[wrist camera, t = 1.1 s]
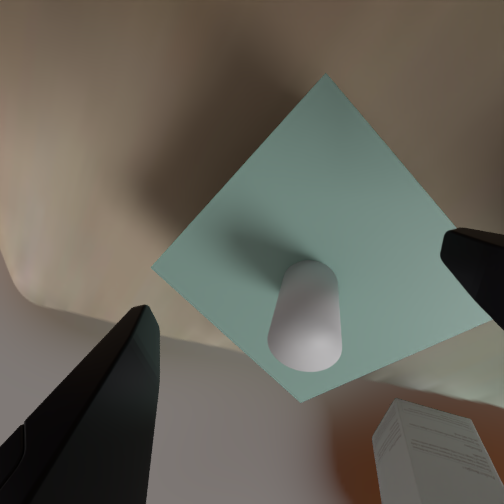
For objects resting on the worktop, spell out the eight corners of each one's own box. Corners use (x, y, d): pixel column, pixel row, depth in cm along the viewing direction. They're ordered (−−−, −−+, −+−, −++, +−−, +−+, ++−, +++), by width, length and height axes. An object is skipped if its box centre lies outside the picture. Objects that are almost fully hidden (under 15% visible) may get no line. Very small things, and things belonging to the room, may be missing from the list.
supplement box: (369, 436, 31) (393, 613, 20) (394, 394, 28) (440, 580, 16) (439, 459, 30) (505, 658, 19) (474, 418, 26) (581, 634, 15)
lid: (511, 295, 15) (611, 392, 10) (301, 391, 22) (293, 478, 17) (325, 75, 13) (325, 46, 7) (158, 260, 20) (97, 313, 14)
